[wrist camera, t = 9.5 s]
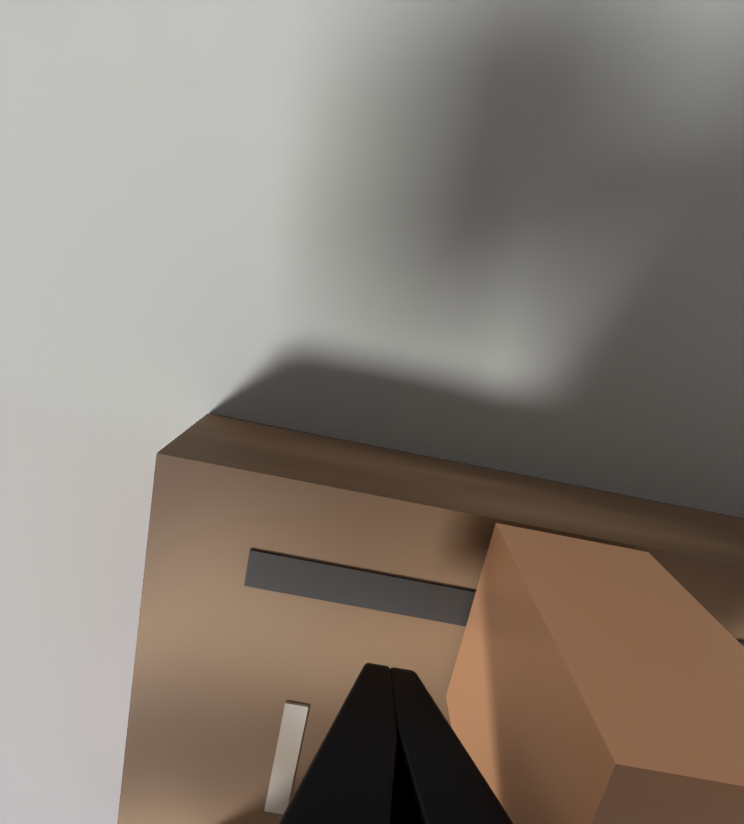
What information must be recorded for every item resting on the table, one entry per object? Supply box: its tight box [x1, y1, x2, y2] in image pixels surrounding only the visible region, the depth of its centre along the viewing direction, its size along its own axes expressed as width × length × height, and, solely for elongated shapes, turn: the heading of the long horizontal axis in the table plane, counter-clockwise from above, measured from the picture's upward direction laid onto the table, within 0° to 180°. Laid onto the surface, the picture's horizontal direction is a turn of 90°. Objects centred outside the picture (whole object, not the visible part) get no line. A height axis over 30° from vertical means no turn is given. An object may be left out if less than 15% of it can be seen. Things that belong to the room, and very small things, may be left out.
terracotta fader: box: [446, 523, 744, 824], centre depth 8 cm, size 4×3×5 cm
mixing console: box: [117, 414, 744, 824], centre depth 13 cm, size 13×22×3 cm, turn 79°
